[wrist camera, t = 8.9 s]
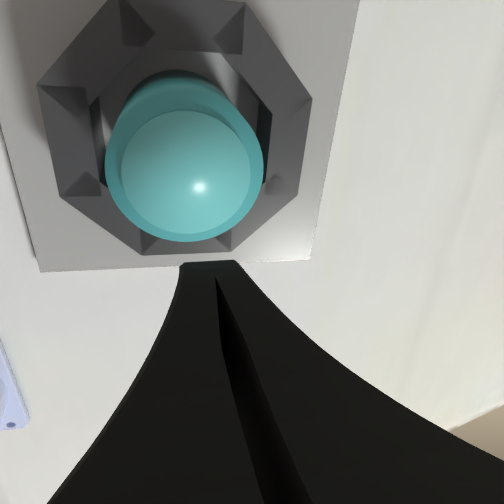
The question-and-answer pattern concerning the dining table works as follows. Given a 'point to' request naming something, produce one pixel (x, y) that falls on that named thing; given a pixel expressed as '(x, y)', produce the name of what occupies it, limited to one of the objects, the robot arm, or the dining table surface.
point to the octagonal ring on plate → (134, 71)
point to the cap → (182, 158)
